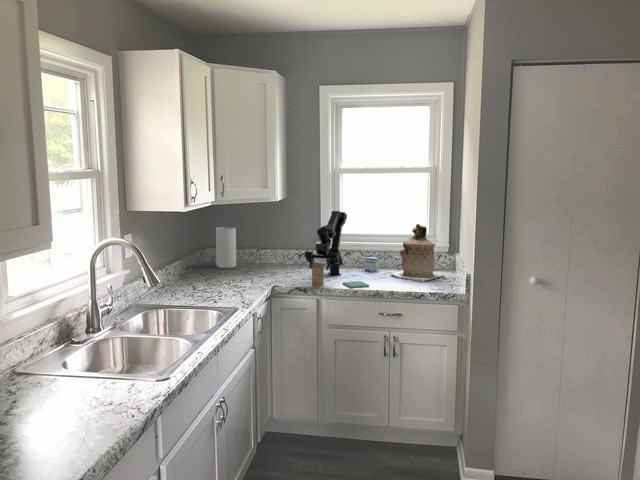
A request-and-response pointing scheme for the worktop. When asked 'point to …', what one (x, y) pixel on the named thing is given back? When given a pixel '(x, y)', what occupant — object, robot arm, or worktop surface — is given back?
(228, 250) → the cylinder vase
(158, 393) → the worktop surface
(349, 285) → the green mat
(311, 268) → the robot arm
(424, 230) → the cookie jar
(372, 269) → the medicine box
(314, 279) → the walnut block
